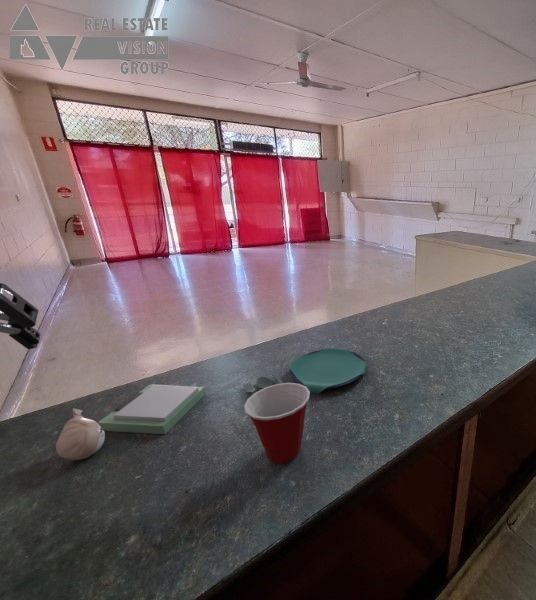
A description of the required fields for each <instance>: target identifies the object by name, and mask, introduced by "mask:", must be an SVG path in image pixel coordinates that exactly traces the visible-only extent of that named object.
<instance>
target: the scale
mask: <svg viewBox="0 0 536 600" xmlns="http://www.w3.org/2000/svg"><path fill="white" fill-rule="evenodd" d="M206 394H207V393H206V389H205V386H190V385H169V384H148V385H147V386H145V387H144V388H143V389H141V390H140V391H138V392H136V393H135V394H133V395H132V396H130V397H129V398H128V399H127V400H125V401H124V402H123V403H121V404H120V405H118V406H117V407H116V408H114V410H112V412H110V413H109V414H107V415H106V416H105V417H103V418H102V419H100V420H99V421H98V422H97V423H98V424H99V426H100V427H101V428H103V431H104V432H116V433H118V432H119V433H135V434H151V435H152V434H153V435H166V434H167V433H168V432H169V431H170V430H171V429H172V428H173V427H174V426H175V425H176V424H178V422H179V421H180V420H181V419H182V418H183V417H185V415H186V414H187V413H188V412H189V411H190V410H191V409H193V407H194V406H196V405H197V403H198V402H199V401H201V400H202V399H203V398H204V397H205V396H206Z"/></svg>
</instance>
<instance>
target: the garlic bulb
mask: <svg viewBox="0 0 536 600" xmlns="http://www.w3.org/2000/svg"><path fill="white" fill-rule="evenodd" d="M83 411H84V409H79V408H72V415H73V417H72V418H71V419H68V421H67V422H66V423H65V424H64V426H63V428H62V430H61V432H60V434H59V437H58V439H57V441H56V443H55V449H56V453H57V455H58V456H60V457H61V458H63V459H65V460H69V461H81V460H84V459H88V458H89V457H91V456H92V455H94V454H95V453H96V452H98V451H99V450H100V449H101V448H102V446H103V445H104V443H105V439H106V436H105V435H106V431H103V428H101V427H100V426H99V424H98V422H97V421H95V420H93V419H90V418H86V417H83V415H82V413H83Z"/></svg>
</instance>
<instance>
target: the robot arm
mask: <svg viewBox="0 0 536 600" xmlns="http://www.w3.org/2000/svg"><path fill="white" fill-rule="evenodd" d="M39 311H40V310H39V308H37V307H35V305H33V304H32V303H31V302H29V301H28V300H26V299H25V298H24V297H23V296H21V295H20V294H19V293H17V292H16V291H15V290H13V289H12V288H11V287H10V286H9V285H7V284H5V283H2V282H0V321H5V322H7V323H5V322H0V333H2V334H8V336H9V337H10V338H12V340H14V341H16V342H17V343H18V344H19V345H21V346H22V347H24V348H25V349H27V350H31V349H36V348H38V344H40V341H41V332H39V331H38V330H37V329H36V328H34V327H35V326H36V324H37V319H38V316H39V315H38V314H39Z"/></svg>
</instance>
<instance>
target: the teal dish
mask: <svg viewBox="0 0 536 600" xmlns="http://www.w3.org/2000/svg"><path fill="white" fill-rule="evenodd" d="M368 368H369V365H368V363H367V362H366V360H365V358H363V357H362V356H361V354H358V353H356V352H354V351H352V350H349V348H345V347H344V348H343V347H327V348H323V349H319V350H315V351H311V352H309V353H306V354H303V355H301V356H298V357H297V358H296V359H294V361H293V362H292V363H291V364H290V366H289V367H288V369H289V375H290V378H291V379H292V380H293V381H294V382H295V383H297V384H301V385H303V386H305V387H307V389H308V390H309V391H310V393H312V394H315V395H319V394H321V393H322V392H323V391H324V390H330V389H338V388H341V387H344V386H347V385H350V384H352V383H353V382H355V381H358V380H359V379H360V378H361V377H362V376H363V375H366V373H367V371H368ZM271 375H272V377H273V378H274V379H275V381H276V382H277V384H282V383H284V382H283V380H282V379H281V378H280V376H279V375H278V374H276V373H271ZM255 382H256V387H258V388H260V390H262V389H264V388H266V387H269V386H272V385H273V383H272V379H270V378H269V377H268V376H267V377H266V376H260V377H258V378H257V379H256V381H255ZM242 385H243V387H244V389H245V392H246V395H248V396H250V397H251V396H252V395H253V394H254V393H256V392H258V391H257V388H256V387H254V385H253V384H252V383H251V382H250V381H248V382H245V383H243V384H242Z"/></svg>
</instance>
